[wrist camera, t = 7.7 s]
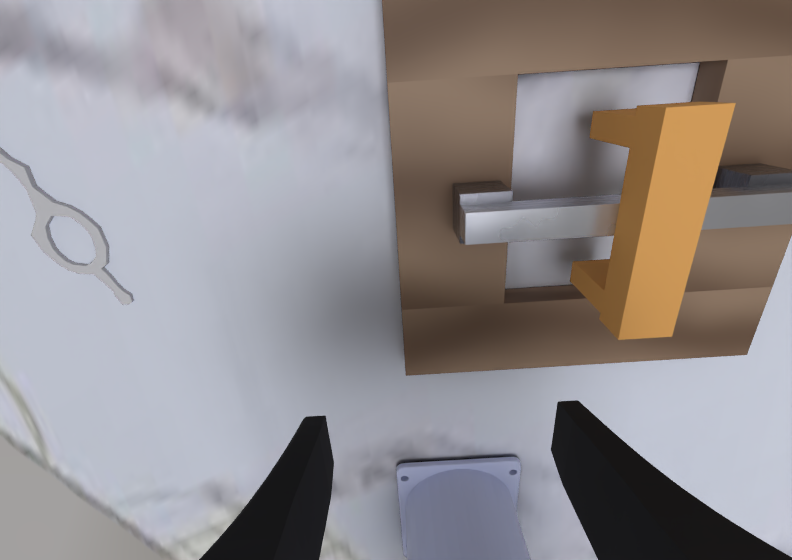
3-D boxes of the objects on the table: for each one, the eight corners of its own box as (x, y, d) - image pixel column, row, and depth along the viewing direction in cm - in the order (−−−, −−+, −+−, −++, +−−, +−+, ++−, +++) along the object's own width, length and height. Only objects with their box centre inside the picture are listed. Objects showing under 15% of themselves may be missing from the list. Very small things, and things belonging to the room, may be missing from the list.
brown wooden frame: (725, 338, 23) (746, 354, 21) (404, 358, 23) (405, 375, 21) (864, -70, 15) (911, -86, 14) (379, -36, 15) (379, -48, 14)
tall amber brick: (611, 284, 19) (671, 336, 15) (569, 286, 19) (618, 339, 15) (645, 99, 16) (735, 102, 12) (594, 102, 16) (665, 107, 12)
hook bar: (745, 209, 18) (814, 232, 15) (452, 228, 18) (464, 254, 15) (760, 163, 17) (836, 178, 14) (452, 183, 17) (465, 202, 14)
